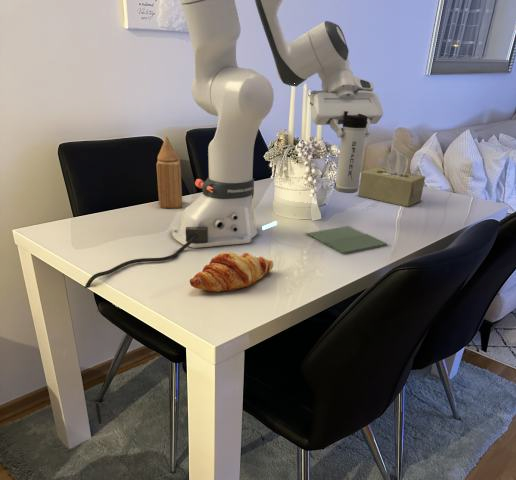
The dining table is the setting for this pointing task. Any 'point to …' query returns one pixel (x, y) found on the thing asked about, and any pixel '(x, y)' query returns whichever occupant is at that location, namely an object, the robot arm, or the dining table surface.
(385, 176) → the tissue box
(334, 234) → the napkin
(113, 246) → the dining table surface
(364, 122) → the travel mug
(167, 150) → the decorative item
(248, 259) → the croissant
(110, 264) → the dining table surface
